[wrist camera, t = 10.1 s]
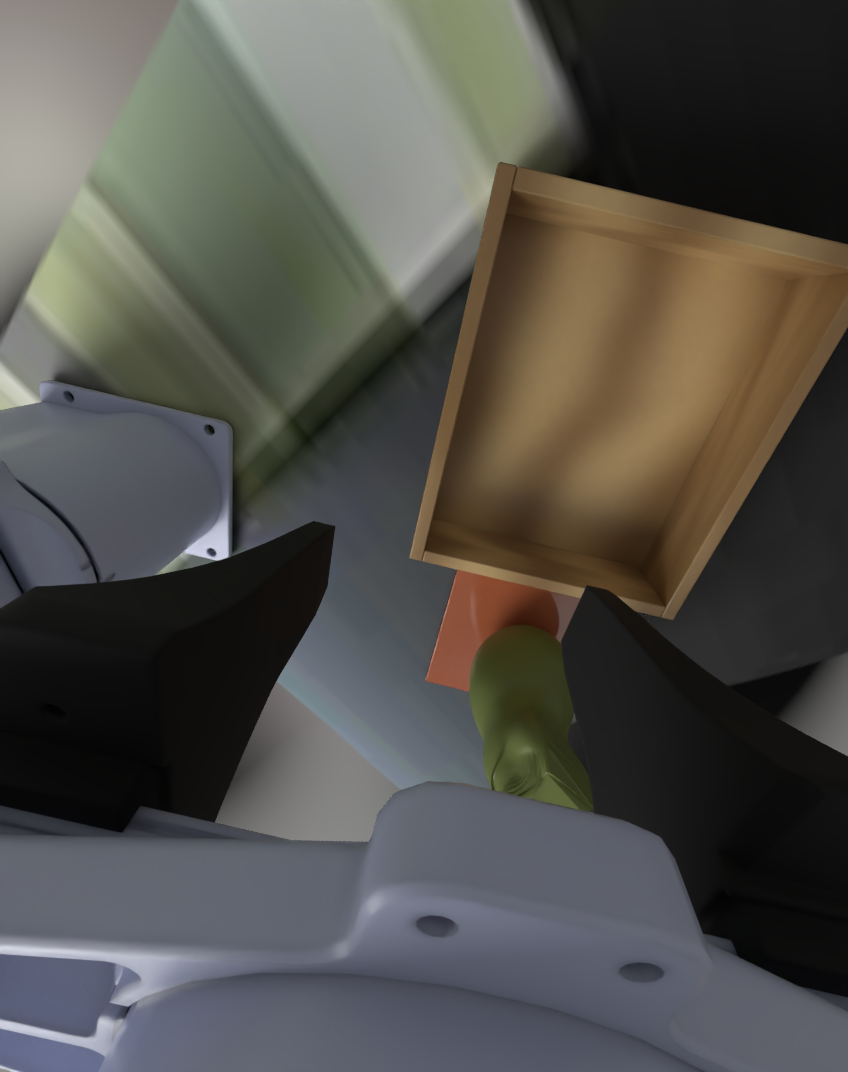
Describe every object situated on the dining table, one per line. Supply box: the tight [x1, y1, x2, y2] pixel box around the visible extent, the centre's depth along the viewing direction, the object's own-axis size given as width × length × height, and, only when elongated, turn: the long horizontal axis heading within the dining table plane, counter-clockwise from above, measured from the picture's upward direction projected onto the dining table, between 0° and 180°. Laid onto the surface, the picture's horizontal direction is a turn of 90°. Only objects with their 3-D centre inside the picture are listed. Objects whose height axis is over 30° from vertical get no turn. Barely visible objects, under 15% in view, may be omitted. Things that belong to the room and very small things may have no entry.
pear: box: [469, 625, 594, 812], centre depth 21 cm, size 6×5×10 cm
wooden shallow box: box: [409, 162, 848, 620], centre depth 18 cm, size 12×14×4 cm
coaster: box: [425, 569, 581, 691], centre depth 26 cm, size 9×9×1 cm
